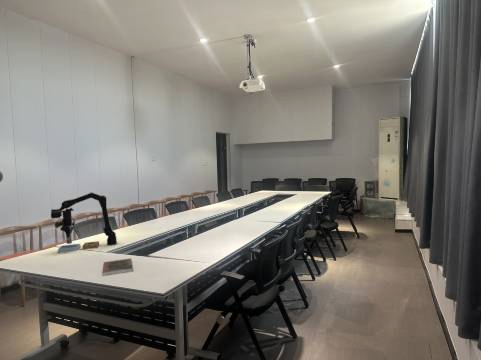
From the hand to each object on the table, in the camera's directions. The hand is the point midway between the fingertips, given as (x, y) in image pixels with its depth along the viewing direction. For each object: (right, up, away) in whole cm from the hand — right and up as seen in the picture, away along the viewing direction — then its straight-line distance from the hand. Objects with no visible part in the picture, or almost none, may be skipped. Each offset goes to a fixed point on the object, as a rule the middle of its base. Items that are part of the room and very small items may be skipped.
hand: (68, 237), depth 238 cm
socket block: (+15, -9, +5) cm, 18 cm away
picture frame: (+55, -11, -47) cm, 73 cm away
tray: (0, -10, 0) cm, 10 cm away
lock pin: (0, -4, 0) cm, 4 cm away
